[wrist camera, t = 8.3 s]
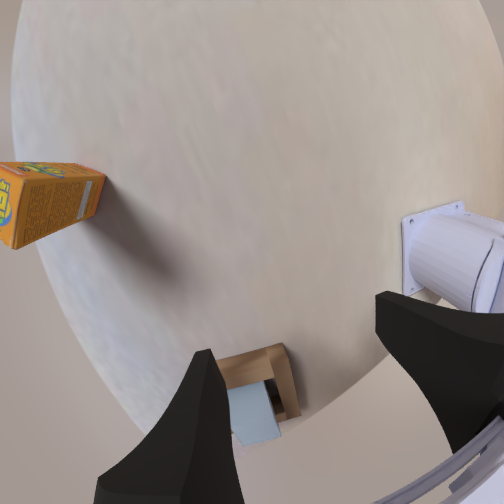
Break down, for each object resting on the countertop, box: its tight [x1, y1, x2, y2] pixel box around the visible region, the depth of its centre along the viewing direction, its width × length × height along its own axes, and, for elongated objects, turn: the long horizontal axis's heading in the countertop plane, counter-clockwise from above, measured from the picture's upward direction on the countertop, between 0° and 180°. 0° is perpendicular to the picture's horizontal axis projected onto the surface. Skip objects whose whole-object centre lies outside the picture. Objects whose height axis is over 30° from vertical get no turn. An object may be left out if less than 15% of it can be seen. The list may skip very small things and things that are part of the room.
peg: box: [227, 381, 281, 446], centre depth 21 cm, size 4×4×6 cm
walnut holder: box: [216, 343, 301, 434], centre depth 23 cm, size 8×8×2 cm
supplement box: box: [0, 162, 106, 250], centre depth 12 cm, size 3×3×10 cm
